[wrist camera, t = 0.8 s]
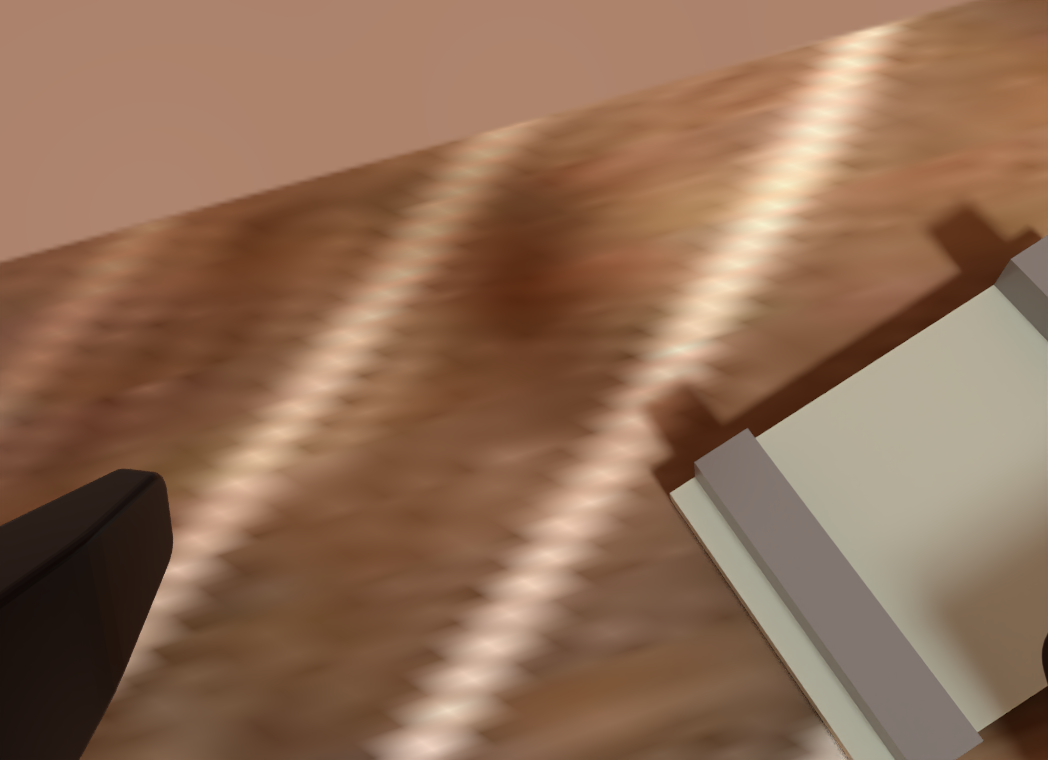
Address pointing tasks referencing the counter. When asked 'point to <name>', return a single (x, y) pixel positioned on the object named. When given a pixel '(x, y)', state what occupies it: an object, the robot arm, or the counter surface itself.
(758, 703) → the counter surface
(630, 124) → the counter surface
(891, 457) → the cradle
